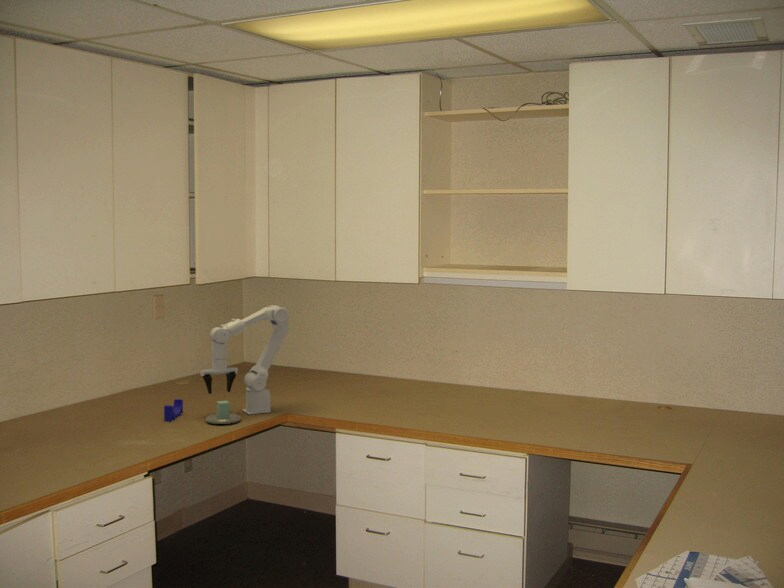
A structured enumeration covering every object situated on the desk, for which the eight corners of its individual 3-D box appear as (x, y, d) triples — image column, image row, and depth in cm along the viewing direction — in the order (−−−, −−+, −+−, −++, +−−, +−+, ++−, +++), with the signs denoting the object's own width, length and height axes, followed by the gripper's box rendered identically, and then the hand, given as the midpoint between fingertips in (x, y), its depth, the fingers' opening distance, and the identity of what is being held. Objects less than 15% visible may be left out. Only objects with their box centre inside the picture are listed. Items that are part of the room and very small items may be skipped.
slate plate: (234, 415, 315) (234, 411, 315) (245, 423, 304) (245, 419, 304) (201, 419, 309) (201, 415, 309) (211, 427, 298) (211, 423, 298)
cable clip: (171, 413, 317) (171, 398, 317) (182, 414, 317) (182, 399, 316) (160, 421, 305) (160, 406, 305) (171, 421, 305) (171, 406, 304)
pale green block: (226, 415, 309) (226, 400, 309) (229, 418, 306) (229, 402, 305) (216, 416, 307) (216, 401, 307) (219, 419, 304) (219, 403, 303)
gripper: (233, 355, 320) (233, 388, 321) (197, 357, 312) (197, 392, 314) (239, 358, 314) (239, 392, 315) (203, 360, 306) (203, 395, 307)
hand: (219, 392), depth 314 cm, fingers open, 7 cm apart
